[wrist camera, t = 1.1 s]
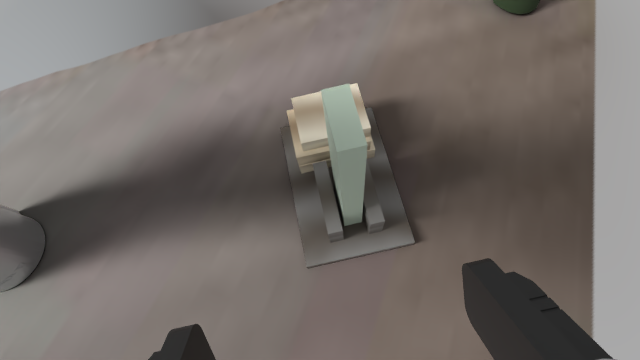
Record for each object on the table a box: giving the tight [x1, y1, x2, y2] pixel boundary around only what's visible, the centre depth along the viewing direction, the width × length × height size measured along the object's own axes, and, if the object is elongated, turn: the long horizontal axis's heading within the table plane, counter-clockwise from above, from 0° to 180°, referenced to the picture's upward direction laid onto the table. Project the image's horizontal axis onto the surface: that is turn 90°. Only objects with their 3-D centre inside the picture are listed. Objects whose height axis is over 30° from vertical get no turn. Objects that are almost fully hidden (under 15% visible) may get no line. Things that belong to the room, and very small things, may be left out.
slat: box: [321, 84, 367, 226], centre depth 31 cm, size 5×2×18 cm, turn 12°
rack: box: [280, 83, 415, 268], centre depth 38 cm, size 18×12×7 cm, turn 12°
